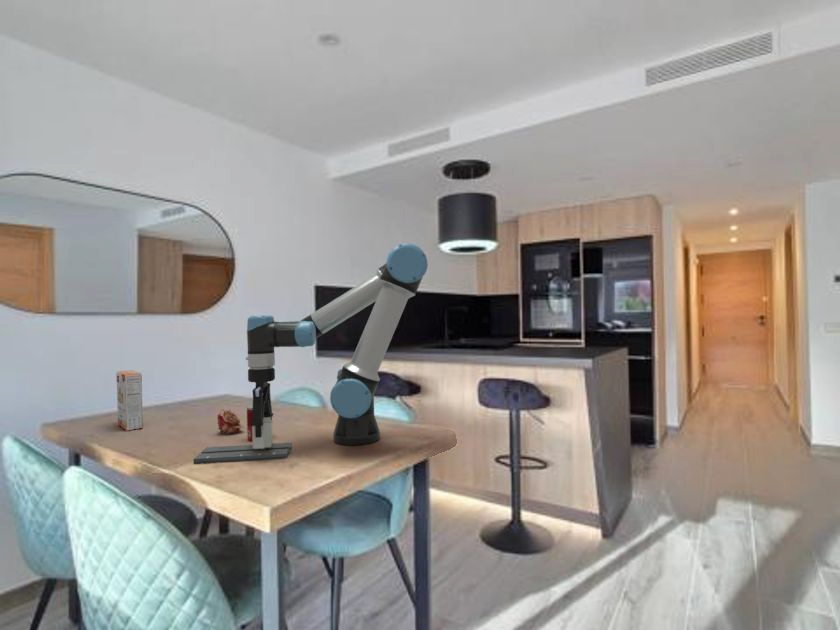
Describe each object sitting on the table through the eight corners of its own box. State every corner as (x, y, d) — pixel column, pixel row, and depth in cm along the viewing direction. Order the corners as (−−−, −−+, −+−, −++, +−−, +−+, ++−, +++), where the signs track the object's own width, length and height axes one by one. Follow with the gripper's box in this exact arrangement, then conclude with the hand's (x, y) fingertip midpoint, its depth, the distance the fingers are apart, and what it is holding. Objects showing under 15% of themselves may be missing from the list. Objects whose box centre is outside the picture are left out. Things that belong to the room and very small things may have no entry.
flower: (207, 432, 161) (220, 413, 161) (212, 421, 170) (224, 403, 170) (232, 445, 164) (245, 426, 164) (236, 433, 173) (248, 416, 173)
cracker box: (116, 425, 182) (115, 371, 182) (134, 423, 186) (133, 370, 186) (124, 431, 172) (123, 374, 172) (143, 428, 176) (142, 372, 176)
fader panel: (291, 447, 146) (291, 442, 146) (286, 458, 134) (286, 453, 134) (206, 451, 143) (206, 447, 143) (193, 464, 131) (193, 458, 131)
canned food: (264, 442, 153) (264, 408, 153) (242, 441, 155) (241, 407, 155) (276, 436, 160) (276, 403, 160) (255, 435, 162) (254, 403, 162)
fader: (272, 448, 142) (272, 420, 142) (270, 452, 138) (270, 423, 138) (255, 449, 141) (255, 421, 141) (252, 453, 137) (252, 424, 137)
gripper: (256, 364, 150) (257, 434, 150) (238, 372, 128) (240, 454, 128) (280, 363, 151) (281, 433, 151) (267, 371, 129) (269, 453, 129)
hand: (262, 443), depth 139 cm, fingers open, 10 cm apart
